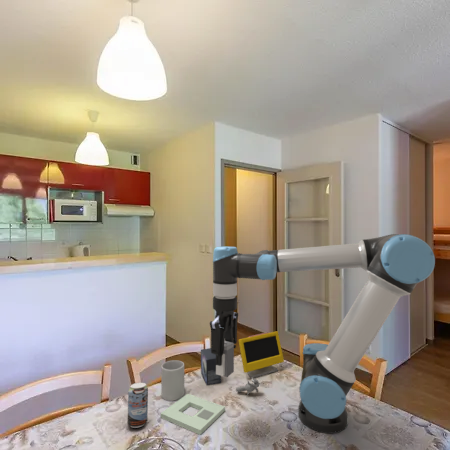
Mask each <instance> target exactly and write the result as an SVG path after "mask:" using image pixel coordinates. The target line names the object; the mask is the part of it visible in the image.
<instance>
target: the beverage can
mask: <svg viewBox="0 0 450 450" xmlns="http://www.w3.org/2000/svg"><path fill="white" fill-rule="evenodd" d="M148 404H149V387H148V385H147V383H145V382H134V383H132V384H131V385H130V387H129V389H128V391H127V423H126V424H127V425H128V426H129V427H131V428H134V429H136V428H137V429H139V428H141V427H143V426H145V424H146V423H147V422H148V411H149V410H148V409H149V407H148V406H149V405H148Z"/></svg>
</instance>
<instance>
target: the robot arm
mask: <svg viewBox="0 0 450 450" xmlns="http://www.w3.org/2000/svg"><path fill="white" fill-rule="evenodd" d="M212 258H213V260H212V280H213V281H212V283H213V284H212V295H213V296H212V297H213V298H212V309H213V310H214V311H215V316H214V320H211V321H210V322H209V326H210V348H211V353H212V354H216V374H217V375H220V376H221V377H225V354H223V351H224V342H225V341H228V342H232V343H234V349H236V348H237V345H236V344H237V343H238V319H239V312H235V311H236V310H237V308H238V297H236V296H238V279H249V280H250V279H251V280H260V281H265V280H266V281H267V280H270V281H271V280H275V279H276V277H277V273H287V272H288V273H289V272H304V271H323V270H337V269H338V270H340V269H343V270H344V269H356V268H357V269H358V268H359V269H360V268H361V269H363V271H365V272H366V274H367V277H368V279H367V280H366V282H365V284H364V285H363V287H362V289H361V290H360V292H359V294H358V295H357V296H356V298H355V300H354V302H353V303H352V305H351V307H350V308H349V310H348V312H347V313H346V315H345V317H344V318H343V320H342V321H341V323H340V325H339V327H338V328H337V330H336V332H335V333H334V334H333V336H332V338H331V339H330V342H329V343H327V344H326V343H318V342H317V343H316V342H315V343H314V342H313V343H307V344H305V345H304V346H303V347H302V348H303V349H302V355H303V356H302V370H301V371H302V372H301V378H300V384H299V396H300V397H299V398H300V401H299V404H298V419H299V420H300V422H301V423H302V424H304V425H305V426H306V427H307V428H309V429H311V430H314V431H316V432H320V433H325V434H326V433H327V434H331V433H332V434H333V433H340V432H342V431H344V430H345V429H346V428H347V426H348V424H349V423H348V419H349V418H348V412H347V409H346V405H347V395H348V393H349V392H350V391H351V389H352V388H353V386H354V385H355V383H356V380H357V379H356V375H355V370H356V368H357V367H358V365H359V363H360V362H361V361H362V359H363V357H364V356H365V354H366V353H367V351H368V349H369V348H370V346H371V344H373V342H374V339H376V336H377V335H378V334H379V332H380V330H381V328H383V327H382V326H383V325H384V323H385V322H386V321H387V319H388V318H389V316H390V314H391V313H392V311H393V309H394V308H395V306H396V305H397V303H398V302H399V300H400V299H401V297H403V296H404V297H405V296H410V295H411V293H413V291H414V289H415V287H416V286H417V284H419V283H421V282H423V281H424V280H426V279H427V278H428V277H430V276H431V274H432V273H433V271H434V269H435V267H436V265H435V264H436V257H435V254H434V252H433V249H432V248H431V246H430V245H429V244H428V243H427V242H426V241H424V240H423V239H421V238H419V237H417V236H415V235H412V234H407V233H405V234H404V233H403V234H402V233H401V234H399V233H393V234H392V233H391V234H387V235H383V236H382V235H381V236H378V237H374V238H373V237H372V238H367V239H360V240H359V242H358V243H346V244H345V243H344V244H343V243H342V244H333V245H323V246H310V247H309V246H308V247H296V248H286V249H274V250H273V249H272V250H268V249H266V250H264V249H263V250H260V251H259V252H256V253H239V252H238V248H237V247H236V246H217V247H215V248H214V249H213V256H212Z"/></svg>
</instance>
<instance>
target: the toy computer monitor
mask: <svg viewBox="0 0 450 450" xmlns="http://www.w3.org/2000/svg"><path fill="white" fill-rule="evenodd" d="M238 345H239V350H240V351H239V352H240V356H241V361H242V362H241V363H242V364H241V365H242V369H243V373H245V374H248V376H249V377H250V378H251V379H252V378H253V379H256V378H258V377H262V376H265V375H269V374H272V373H275V372H278V371H279V369H278V367H275V366H276V365H279V364H282V363H285V360H284V354H283V350H282V345H281V340H280V336H279V331H278V330H277V331H271V332H267V331H266V332H263V333H258V334H255V335H254V334H253V335H249V336H248V337H243V338H240V339H238ZM274 365H275V366H274Z"/></svg>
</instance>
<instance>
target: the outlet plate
mask: <svg viewBox="0 0 450 450" xmlns="http://www.w3.org/2000/svg"><path fill="white" fill-rule="evenodd" d="M189 407H191V408H194V409H196V410H198V411H197V412H196V413H195V414H194V415H193V416H192V415H190V414H186V413H185V412H184V411H185V410H186V409H188V408H189ZM225 411H226V406H225V405H221V404H218V403H217V402H216V403H215V402H213V401H210V400H207V399H205V398H203V397H200V396H197V395H193V394H191V393H186V394H184V396H183V397H182V398H180V399H178V400H176V401H175V402H174V403H173V404H171V405H170V406H169V407H167V408H166V409H164V410H163V411H162V412H161V413H160V419H163V420H166V421H168V422H170V423H171V424H175V425H176V426H179V427H181V428H184V429H186V430H188V431H190V432H193V433H195V434H197V435H200V436H201V435H202V434H203V433H204V432H205V431H206V430H207V429H208V428H209V427H210V426H212V424H213V423H214V422H215V421H216V420H218V419H219V417H220V416H221V415H223V413H225Z"/></svg>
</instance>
